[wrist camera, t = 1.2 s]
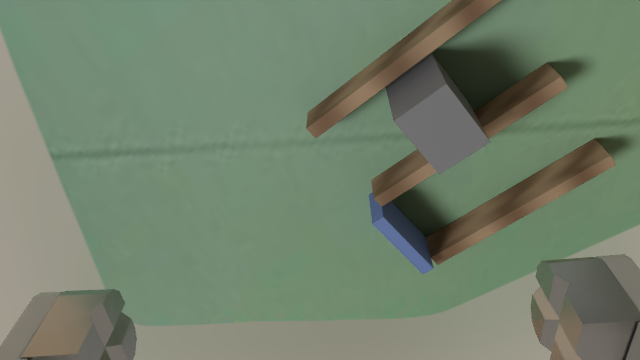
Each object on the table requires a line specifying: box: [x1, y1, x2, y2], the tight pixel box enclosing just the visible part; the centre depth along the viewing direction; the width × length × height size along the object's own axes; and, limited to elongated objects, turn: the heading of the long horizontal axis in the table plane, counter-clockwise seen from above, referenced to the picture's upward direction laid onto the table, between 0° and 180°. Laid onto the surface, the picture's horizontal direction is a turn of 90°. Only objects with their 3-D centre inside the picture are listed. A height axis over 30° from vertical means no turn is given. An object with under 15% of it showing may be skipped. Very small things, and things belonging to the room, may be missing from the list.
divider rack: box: [306, 0, 616, 274], centre depth 43 cm, size 19×20×4 cm
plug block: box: [386, 53, 490, 174], centre depth 40 cm, size 4×6×7 cm
